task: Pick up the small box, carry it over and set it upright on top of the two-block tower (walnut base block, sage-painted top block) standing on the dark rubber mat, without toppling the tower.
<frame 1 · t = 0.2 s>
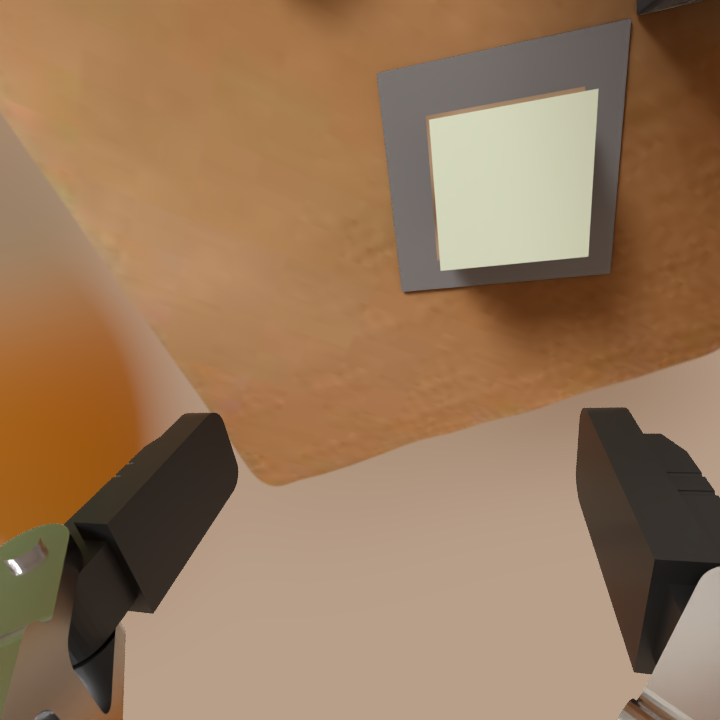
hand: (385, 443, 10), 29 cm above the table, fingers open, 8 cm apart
block base: (498, 177, 32), resting on mat, touching block top
mat: (497, 176, 33), on the table
block top: (503, 182, 28), point 5 cm above the table, touching block base
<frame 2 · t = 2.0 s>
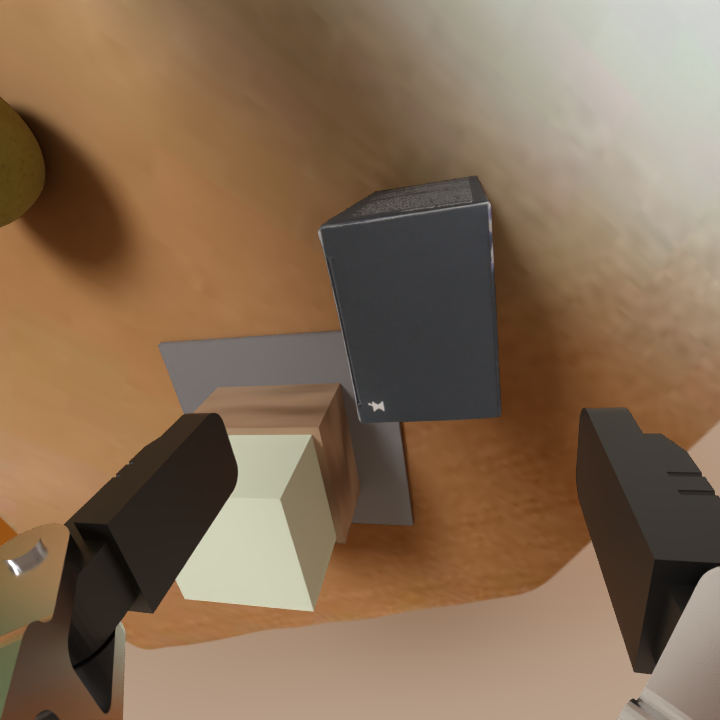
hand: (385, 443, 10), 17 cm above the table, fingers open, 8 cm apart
block base: (291, 439, 32), resting on mat, touching block top
mat: (292, 436, 32), on the table
block top: (264, 487, 27), point 5 cm above the table, touching block base
box: (431, 255, 25), on the table
apple: (19, 150, 27), on the table
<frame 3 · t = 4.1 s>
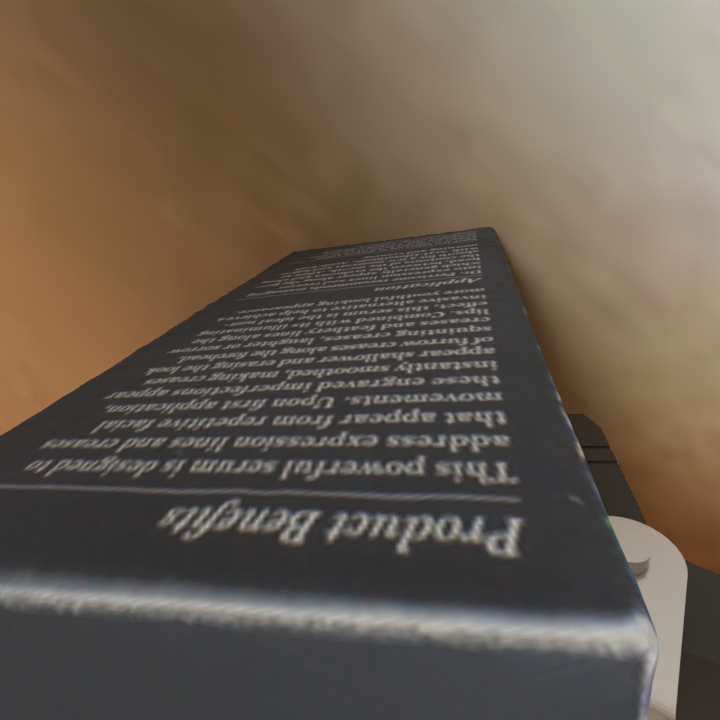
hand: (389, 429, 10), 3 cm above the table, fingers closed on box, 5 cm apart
box: (405, 365, 13), on the table, touching gripper
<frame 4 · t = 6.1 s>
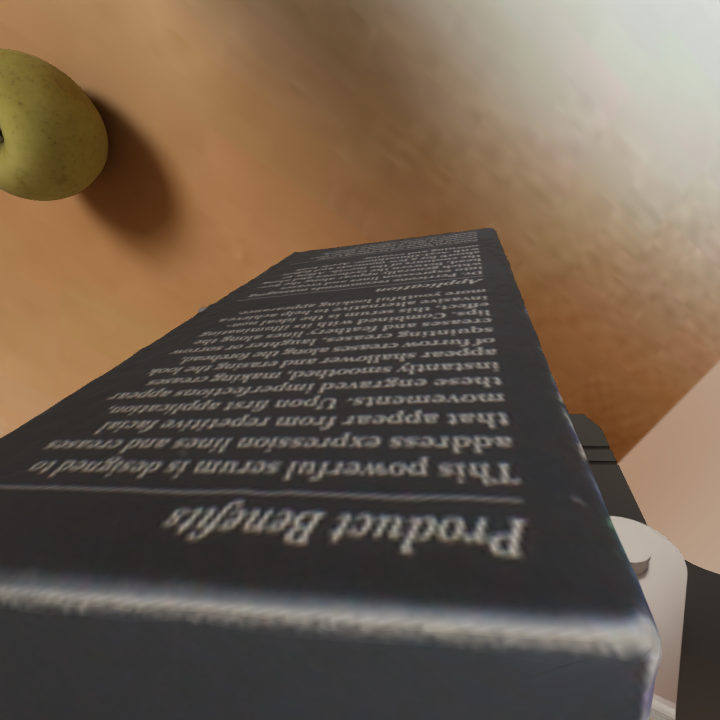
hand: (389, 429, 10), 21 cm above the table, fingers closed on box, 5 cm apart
box: (406, 365, 13), point 17 cm above the table, touching gripper
apple: (83, 130, 30), on the table
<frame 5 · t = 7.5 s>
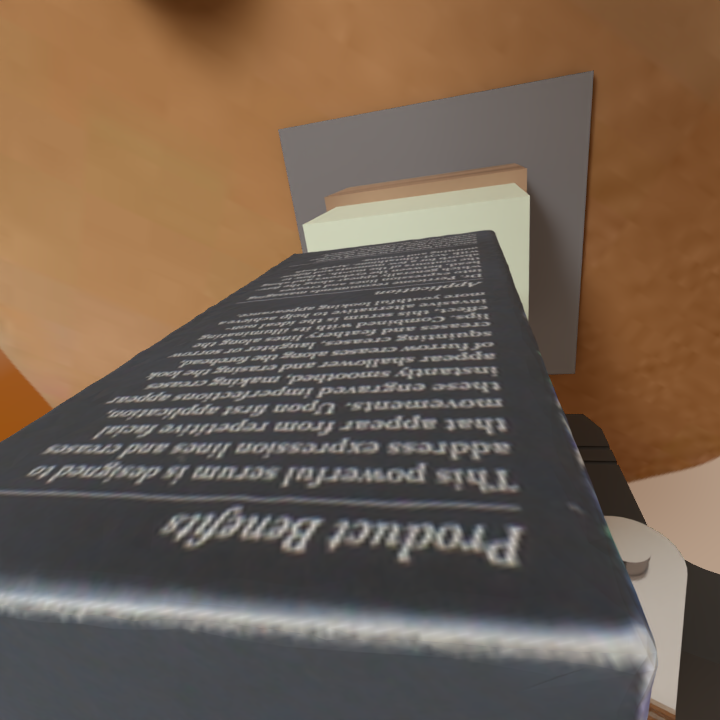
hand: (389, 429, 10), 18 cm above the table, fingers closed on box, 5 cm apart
block base: (434, 257, 26), resting on mat, touching block top
mat: (434, 256, 26), on the table
block top: (428, 281, 22), point 5 cm above the table, touching block base
box: (406, 367, 13), point 15 cm above the table, touching gripper
when the fingers open (14 cm above the table, at t = 8.6 s): box stays where it is, resting on block top.
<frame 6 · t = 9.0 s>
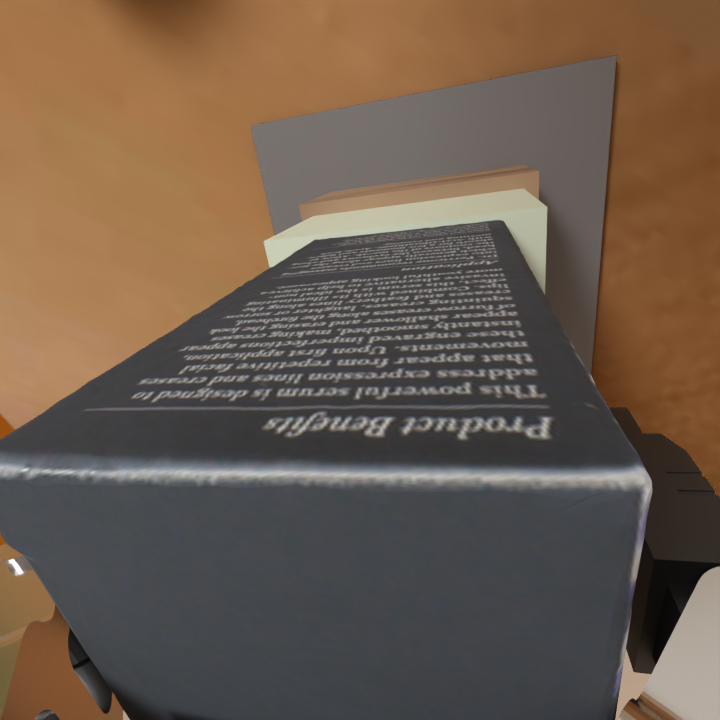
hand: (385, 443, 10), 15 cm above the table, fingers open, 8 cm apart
block base: (429, 272, 23), resting on mat, touching block top
mat: (430, 270, 23), on the table
block top: (421, 303, 18), point 5 cm above the table, touching block base, box
box: (416, 349, 14), point 10 cm above the table, touching block top
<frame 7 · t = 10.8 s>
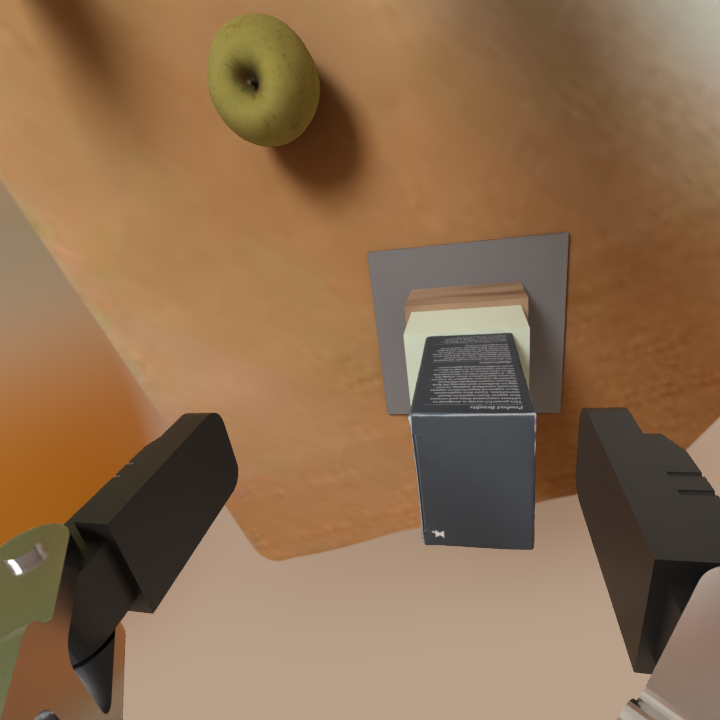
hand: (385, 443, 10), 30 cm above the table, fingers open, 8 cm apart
block base: (466, 335, 39), resting on mat, touching block top
mat: (466, 333, 39), on the table
block top: (466, 357, 35), point 5 cm above the table, touching block base, box
box: (470, 384, 30), point 10 cm above the table, touching block top
apple: (286, 92, 35), on the table
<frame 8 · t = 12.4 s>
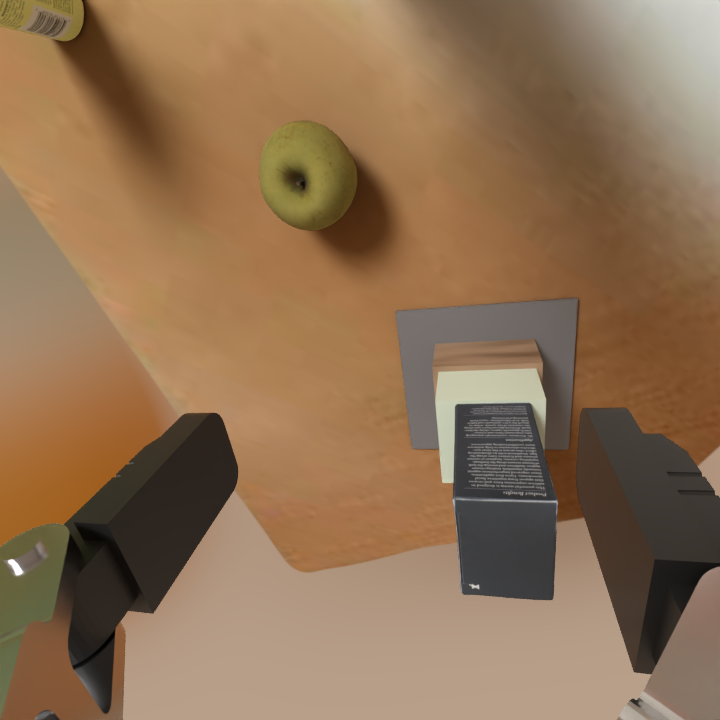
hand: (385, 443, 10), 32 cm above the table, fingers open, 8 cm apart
block base: (484, 383, 44), resting on mat, touching block top
mat: (484, 381, 44), on the table
block top: (487, 410, 39), point 5 cm above the table, touching block base, box
box: (493, 442, 35), point 10 cm above the table, touching block top
tube: (62, 4, 37), on the table
apple: (323, 173, 39), on the table
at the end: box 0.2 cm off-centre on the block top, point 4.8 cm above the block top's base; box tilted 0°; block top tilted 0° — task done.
